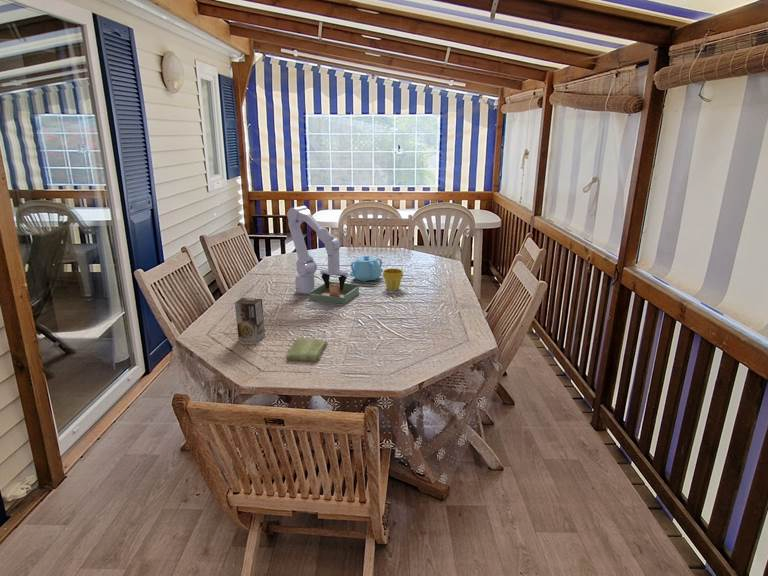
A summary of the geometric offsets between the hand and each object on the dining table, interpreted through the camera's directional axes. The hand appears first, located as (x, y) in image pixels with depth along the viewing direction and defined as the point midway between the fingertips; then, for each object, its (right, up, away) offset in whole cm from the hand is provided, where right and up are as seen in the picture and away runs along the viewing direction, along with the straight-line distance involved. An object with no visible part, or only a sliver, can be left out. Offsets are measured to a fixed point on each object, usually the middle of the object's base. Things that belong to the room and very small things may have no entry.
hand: (334, 289), depth 253 cm
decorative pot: (+15, +5, +32) cm, 35 cm away
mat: (-5, -8, -12) cm, 16 cm away
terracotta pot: (0, -4, +1) cm, 4 cm away
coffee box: (-29, -20, -49) cm, 60 cm away
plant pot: (+30, 0, +14) cm, 33 cm away
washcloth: (-5, -24, -61) cm, 66 cm away
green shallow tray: (0, -4, +1) cm, 4 cm away
